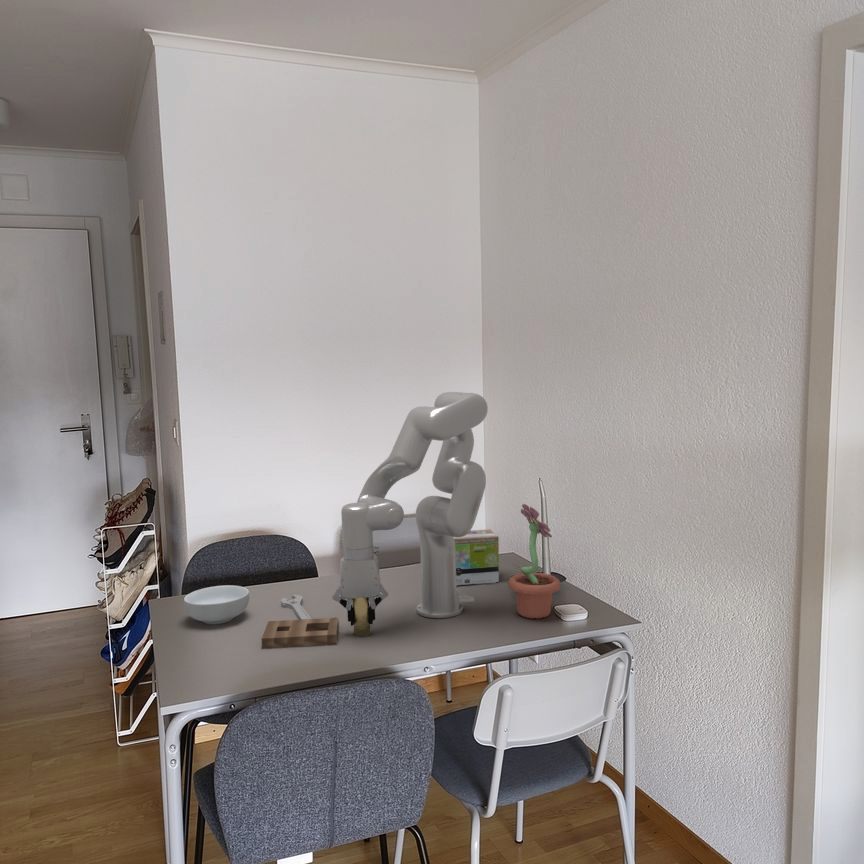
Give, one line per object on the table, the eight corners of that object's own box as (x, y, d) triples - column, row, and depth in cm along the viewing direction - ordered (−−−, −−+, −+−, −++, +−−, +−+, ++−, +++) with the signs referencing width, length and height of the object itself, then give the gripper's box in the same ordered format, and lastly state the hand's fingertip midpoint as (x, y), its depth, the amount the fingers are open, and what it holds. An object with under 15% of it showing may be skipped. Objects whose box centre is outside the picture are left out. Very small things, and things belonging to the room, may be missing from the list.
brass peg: (370, 629, 199) (368, 592, 197) (370, 636, 194) (368, 597, 193) (354, 630, 198) (352, 593, 197) (353, 637, 194) (351, 598, 193)
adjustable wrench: (316, 629, 202) (315, 622, 202) (291, 633, 200) (291, 626, 200) (301, 599, 226) (301, 593, 225) (279, 602, 224) (278, 596, 224)
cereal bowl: (250, 606, 220) (248, 581, 220) (250, 626, 204) (249, 600, 203) (187, 612, 216) (185, 588, 216) (183, 633, 200) (181, 607, 200)
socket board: (338, 626, 202) (338, 617, 201) (336, 644, 190) (336, 634, 190) (268, 630, 200) (268, 621, 200) (262, 648, 189) (261, 638, 188)
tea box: (451, 587, 232) (450, 539, 230) (444, 577, 242) (442, 531, 240) (499, 583, 235) (498, 535, 233) (490, 573, 244) (489, 527, 243)
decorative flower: (572, 620, 201) (571, 507, 198) (523, 627, 197) (521, 512, 194) (546, 602, 215) (545, 496, 212) (500, 609, 211) (498, 501, 208)
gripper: (391, 547, 198) (394, 616, 200) (325, 550, 197) (329, 620, 199) (392, 555, 191) (395, 626, 193) (323, 558, 190) (327, 630, 192)
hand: (361, 622), depth 196 cm, fingers closed on brass peg, 4 cm apart
